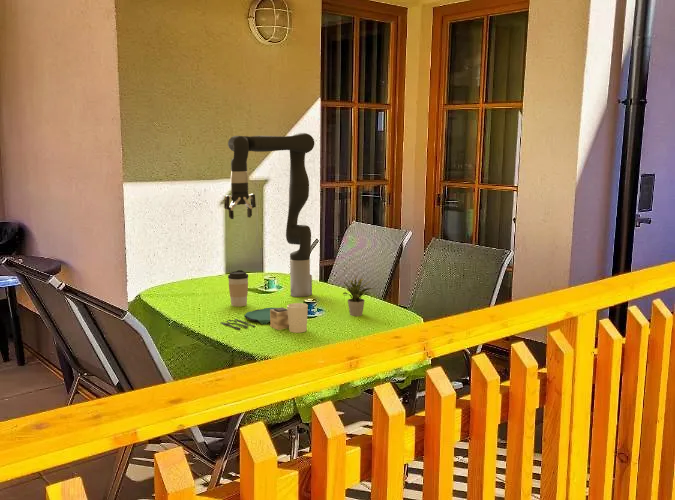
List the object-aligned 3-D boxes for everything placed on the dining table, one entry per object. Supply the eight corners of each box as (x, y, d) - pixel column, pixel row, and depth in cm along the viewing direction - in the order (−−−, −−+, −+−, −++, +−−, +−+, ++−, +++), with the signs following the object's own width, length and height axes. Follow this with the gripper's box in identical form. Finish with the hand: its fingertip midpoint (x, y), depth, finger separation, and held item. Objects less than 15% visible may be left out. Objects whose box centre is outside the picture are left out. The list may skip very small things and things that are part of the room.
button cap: (282, 313, 277) (282, 307, 276) (286, 315, 274) (286, 309, 273) (274, 314, 275) (274, 308, 274) (278, 316, 272) (278, 310, 271)
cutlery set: (303, 318, 288) (303, 313, 287) (240, 333, 269) (240, 327, 269) (275, 310, 303) (275, 305, 303) (214, 323, 284) (214, 317, 284)
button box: (283, 324, 279) (283, 307, 278) (291, 327, 274) (291, 310, 273) (270, 326, 276) (270, 309, 275) (277, 330, 271) (277, 312, 270)
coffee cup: (245, 307, 306) (244, 273, 304) (225, 306, 308) (224, 273, 306) (251, 302, 315) (251, 270, 313) (232, 301, 317) (231, 269, 315)
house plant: (346, 321, 283) (346, 281, 280) (331, 313, 295) (331, 275, 292) (377, 316, 289) (377, 278, 287) (360, 309, 301) (360, 272, 299)
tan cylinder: (287, 328, 274) (287, 303, 272) (307, 327, 274) (307, 302, 273) (287, 333, 266) (287, 308, 264) (308, 333, 267) (308, 307, 265)
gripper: (250, 180, 315) (251, 216, 318) (221, 181, 307) (222, 218, 310) (257, 181, 309) (258, 217, 312) (228, 182, 301) (229, 220, 304)
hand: (240, 218), depth 311 cm, fingers open, 8 cm apart
